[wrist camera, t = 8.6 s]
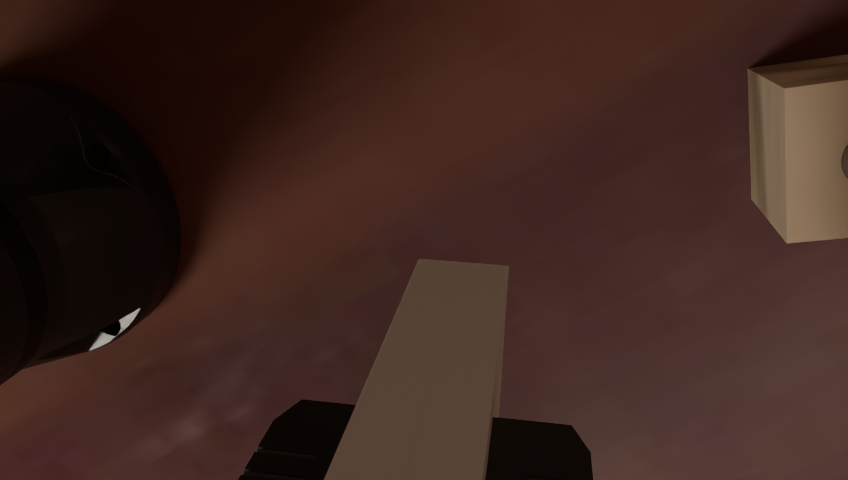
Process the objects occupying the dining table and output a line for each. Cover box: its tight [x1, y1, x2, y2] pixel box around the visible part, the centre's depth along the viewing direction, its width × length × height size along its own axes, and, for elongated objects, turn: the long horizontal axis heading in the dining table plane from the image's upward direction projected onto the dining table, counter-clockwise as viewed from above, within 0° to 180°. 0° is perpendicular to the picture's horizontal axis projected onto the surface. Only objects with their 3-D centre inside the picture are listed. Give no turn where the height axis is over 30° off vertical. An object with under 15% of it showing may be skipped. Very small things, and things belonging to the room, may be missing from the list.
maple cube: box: [748, 54, 848, 243], centre depth 30 cm, size 6×6×6 cm
